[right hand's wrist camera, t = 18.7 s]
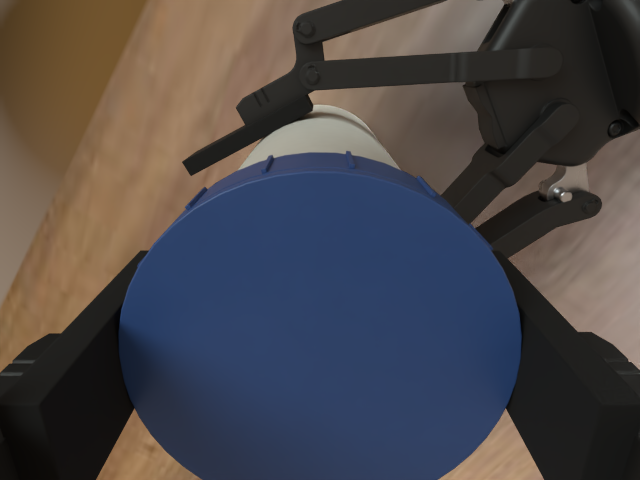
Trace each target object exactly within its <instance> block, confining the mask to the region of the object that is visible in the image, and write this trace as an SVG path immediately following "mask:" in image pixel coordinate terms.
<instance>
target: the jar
mask: <svg viewBox="0 0 640 480" xmlns="http://www.w3.org/2000/svg"><path fill="white" fill-rule="evenodd" d="M346 151H351V154H352V155H355V156H361V157H365V158H368V159H372V160H376V161H379V162H383V163H386V164H388V165H390V166H393V167H395V168H397V169H399V170H401V169H400V168H399V167H398V166H397V164H396V163H395V162H394V160H393V159H392V158H391V156H390V155H389V154H388V152H387V151H386V150H385V148H384V147H383V146H382V144H381V143H380V142H379V140H378V139H377V138H376V136H375V135H374V134H373V132H372V131H371V130H370V129H369V127H368V126H367V125H366V124H365V123H364V122H363V121H362V120H361V119H359V118H358V117H357V116H355V115H354V114H352V113H350V112H348V111H346V110H344V109H341V108H338V107H334V106H330V105H313V111H312V112H310V113H308V114H306V115H304V116H302V117H300V118H298V119H297V120H295V121H293V122H291V123H289V124H287V125H285V126H283V127H282V128H280V129H278V130H276V131H274V132H272V133H270V134H269V135H267V136H265V137H263V138H262V139H261V140H260V142H259V143H258V144H257V146H256V147H255V148H254V150H253V151H252V152H251V154H250V155H249V156H248V158H247V159H246V160H245V161H244V163H243V164H242V165H241V167H240V168H239V169H238V170H240V169H243V168H245V167H248V166H250V165H253V164H255V163H257V162H260V161H264V160H266V159H267V158H268V156H269V155H273V157H274V158H276V157H280V156H283V155H291V154H299V153H308V152H330V153H342V154H346Z"/></svg>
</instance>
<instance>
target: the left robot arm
mask: <svg viewBox="0 0 640 480" xmlns="http://www.w3.org/2000/svg"><path fill="white" fill-rule="evenodd" d="M444 1H447V0H342V1H339V2H336V3H333V4H330V5H327V6H324V7H321V8H318V9H315V10H312V11H309V12H307V13H304V14H301V15H300V16H298V17H297V18H296V20H295V21H294V24H293V34H294V41H295V48H296V64H295V66H294V68H293V69H292V70H291V71H290V72H289V73H288V74H286V75H284V76H282V77H281V78H279V79H277V80H275V81H273V82H272V83H270V84H268V85H266V86H264V87H263V88H261V89H259V90H257V91H255V92H254V93H252V94H250V95H248V96H246V97H245V98H243V99H242V100H241V101H240V103H239V104H238V105H237V107H236V109H237V111H238V113H239V114H240V116H241V118H242V120H243V121H244V123H245V125H244V126H243V127H241V128H239V129H237V130H235V131H233V132H232V133H230V134H228V135H226V136H224V137H222V138H221V139H219V140H217V141H215V142H213V143H211V144H209V145H208V146H206V147H204V148H202V149H200V150H198V151H197V152H195V153H194V154H192V155H191V156H190V157H188V158H187V159H186V160H184V161H183V162H182V163H183V164H184V166H185V167H186V169H187V171H188V172H189V174H190V175H191V176H192V175H194V174H196V173H197V172H199V171H201V170H203V169H205V168H207V167H209V166H211V165H212V164H214V163H216V162H218V161H220V160H222V159H224V158H226V157H227V156H229V155H231V154H233V153H235V152H237V151H239V150H240V149H242V148H244V147H246V146H248V145H250V144H252V143H254V142H255V141H257V140H259V139H261V138H263V137H265V136H267V135H269V134H270V133H272V132H274V131H276V130H278V129H280V128H282V127H283V126H285V125H287V124H289V123H291V122H293V121H295V120H297V119H298V118H300V117H302V116H304V115H306V114H308V113H310V112H312V111H313V104H312V102H311V100H310V98H309V96H308V94H309V93H311V92H313V91H315V90H330V89H346V88H363V87H380V86H397V85H414V84H430V83H447V82H466V84H465V85H463V88H464V91H465V93H466V96H467V99H468V101H469V102H470V103H471V105H472V106H473V107H474V109H475V110H476V111H477V113H478V122H479V130H480V133H481V135H482V138H483V140H484V142H485V143H484V144H483V145H482V147H481V148H480V149H479V150H478V151H477V152H476V153H475V154H474V156H473V158H472V162H471V163H470V165H469V166H468V167H467V168H466V169H465V170H464V171H463V172H462V173H461V174H460V175H459V176H458V178H457V179H456V180H455V181H454V182H453V183H452V184H451V185H450V186H449V187H448V188H447V189H446V191H445V192H444V193H443V194H442V195H441V197H442V198H444V199H445V200H446V201H447V202H448V203H449V204H450V205H451V206H452V207H453V209H454V210H455V211H456V212H457V213H458V214H459V215H460V216H461V217H462V218H463V219H464V221H465V222H466V223H467V224H470V223H471V222H472V221H473V220H474V219H475V218H476V217H477V216H478V215H479V214H480V213H481V212H482V211H483V210H484V209H485V208H486V207H487V206H488V205H489V204H490V202H491V201H492V200H493V199H494V198H495V197H496V196H497V195H498V194H499V193H500V192H501V191H502V190H503V189H505V188H507V187H510V186H512V185H514V184H515V183H516V182H518V181H519V180H520V179H521V178H522V176H523V175H524V174H525V173H526V172H527V171H528V170H529V169H530V168H531V167H532V166H533V165H534V164H535V163H536V162H541V163H548V164H554V165H557V169H556V171H555V173H554V174H553V175H552V176H551V177H549V178H548V179H546V180H543V181H541V182H540V184H539V191H536V192H533V193H531V194H529V195H526V196H524V197H523V198H521V199H519V200H518V201H516V202H514V203H513V204H511V205H510V206H508V207H507V208H505V209H504V210H502V211H501V212H499V213H498V214H496V215H495V216H493V217H492V218H490V219H489V220H487V221H486V222H484V223H483V224H481V225H480V226H478V227H477V228H475V229H476V230H477V231H478V232H479V233H480V234H481V236H482V237H483V238H484V239H485V240H486V241H487V242H488V243H489V244H490V245H491V246H492V248H493V250H491V251H500V252H501V253H502V254H503V255H504V256H505V257H506V258H509V257H510V256H512V255H514V254H515V253H517V252H518V251H520V250H521V249H523V248H525V247H526V246H528V245H529V244H531V243H533V242H534V241H536V240H537V239H539V238H540V237H542V236H544V235H545V234H547V233H548V232H550V231H551V230H553V229H555V228H556V227H559V226H563V225H566V224H570V223H574V222H577V221H581V220H584V219H588V218H591V217H593V216H595V215H596V214H597V213H598V212H599V211H600V209H601V206H602V202H601V199H600V198H599V197H598V196H596V195H594V194H592V193H590V191H589V183H588V174H587V165H586V162H588V161H589V160H590V159H592V158H593V157H594V155H595V154H596V153H597V152H598V151H599V150H600V149H601V148H602V147H603V146H604V145H605V144H606V143H608V142H609V141H611V140H613V139H615V138H617V137H620V136H623V135H625V134H628V133H631V132H633V131H636V130H638V129H640V0H502V1H503V2H504V3H505V4H504V6H503V8H502V9H501V11H500V13H499V15H498V16H497V18H496V20H495V21H494V23H493V25H492V27H491V28H490V30H489V32H488V33H487V35H486V37H485V39H484V40H483V42H482V44H481V45H480V47H479V49H478V51H477V52H461V53H445V54H429V55H412V56H396V57H379V58H363V59H346V60H330V61H324V53H323V45H322V42H324V41H327V40H330V39H333V38H336V37H339V36H342V35H345V34H348V33H351V32H354V31H357V30H360V29H363V28H366V27H369V26H372V25H375V24H378V23H381V22H384V21H387V20H390V19H393V18H396V17H399V16H402V15H405V14H408V13H411V12H414V11H417V10H420V9H423V8H426V7H429V6H432V5H435V4H438V3H441V2H444ZM478 1H481V0H478Z"/></svg>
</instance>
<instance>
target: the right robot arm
mask: <svg viewBox="0 0 640 480" xmlns="http://www.w3.org/2000/svg"><path fill="white" fill-rule="evenodd" d="M148 252H149V251H140V252H139V253H138V254H137V255H136V256H135V257H134V258H133V259H132V260H131V261H130V262H129V263H128V264H127V265H126V266H125V268H124V269H123V270H122V271H121V272H120V273H119V274H118V275H117V276H116V277H115V278H114V279H113V280H112V281H111V282H110V283H109V284H108V285H107V286H106V287H105V288H104V289H103V290H102V292H101V293H100V294H99V295H98V296H97V297H96V298H95V299H94V300H93V301H92V302H91V303H90V304H89V305H88V306H87V307H86V308H85V309H84V310H83V311H82V312H81V313H80V314H79V315H78V317H77V318H76V319H75V320H74V321H73V322H72V323H71V324H70V325H69V326H68V327H67V328H66V329H65V330H64V331H63V332H62V333H61V334H48V335H46V336H44V337H43V338H41V339H39V340H38V341H36V342H34V343H32V344H31V345H29V346H27V347H26V348H25V349H24V350H23V351H22V352H21V353H20V354H19V355H18V356H17V357H16V358H15V359H14V360H13V363H12V364H9V365H8V366H7V367H6V368H5V369H4V370H3V371H2V372H1V373H0V480H96V479H97V477H98V475H99V473H100V471H101V469H102V467H103V466H104V464H105V462H106V460H107V458H108V456H109V454H110V453H111V451H112V449H113V447H114V445H115V443H116V441H117V440H118V438H119V436H120V434H121V432H122V430H123V428H124V427H125V425H126V423H127V421H128V419H129V417H130V415H131V414H132V412H133V410H134V406H133V404H132V402H131V400H130V398H129V395H128V392H127V389H126V386H125V383H124V378H123V373H122V368H121V363H120V357H119V341H118V331H119V324H120V317H121V310H122V306H123V303H124V300H125V296H126V293H127V290H128V287H129V285H130V283H131V280H132V278H133V276H134V274H135V272H136V270H137V268H138V267H137V266H138V264H139V262H140V261H141V260H142V259H143V258H144V257H145V256H146V254H147V253H148ZM492 253H493V254H494V256H495V257H496V259H497V260H498V262H499V263H500V265H501V266H502V268H503V270H504V272H505V274H506V276H507V278H508V281H509V283H510V285H511V287H512V289H513V292H514V296H515V299H516V303H517V307H518V310H519V314H520V323H521V332H522V346H521V359H520V364H519V370H518V375H517V380H516V384H515V386H514V389H513V392H512V395H511V397H510V400H509V402H508V404H507V406H506V409H507V411H508V413H509V415H510V417H511V419H512V420H513V422H514V424H515V426H516V428H517V430H518V432H519V433H520V435H521V437H522V439H523V441H524V443H525V445H526V446H527V448H528V450H529V452H530V454H531V456H532V458H533V459H534V461H535V463H536V465H537V467H538V469H539V471H540V472H541V474H542V476H543V478H544V480H640V370H639V369H638V368H637V367H636V366H635V365H634V364H633V363H632V362H628V359H627V358H626V357H625V356H624V355H623V354H622V353H621V352H620V351H619V350H618V349H617V348H616V347H615V346H614V345H613V344H611V343H609V342H608V341H606V340H604V339H602V338H601V337H599V336H597V335H595V334H594V333H592V332H577V331H576V330H575V329H574V328H573V327H572V326H571V325H570V323H569V322H568V321H567V320H566V319H565V318H564V317H563V316H562V315H561V314H560V313H559V312H558V311H557V310H556V309H555V308H554V307H553V306H552V305H551V304H550V303H549V302H548V301H547V300H546V298H545V297H544V296H543V295H542V294H541V293H540V292H539V291H538V290H537V289H536V288H535V287H534V286H533V285H532V284H531V283H530V282H529V281H528V280H527V279H526V278H525V277H524V276H523V275H522V273H521V272H520V271H519V270H518V269H517V268H516V267H515V266H514V265H513V264H512V263H511V262H510V261H509V260H508V259H507V258H506V257H505V256H504V255H503V254H502V253H501V252H500V251H492Z"/></svg>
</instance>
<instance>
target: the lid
mask: <svg viewBox="0 0 640 480" xmlns="http://www.w3.org/2000/svg"><path fill="white" fill-rule="evenodd" d="M185 208H186V210H185V211H184V212H183V213H182V214H181V215H180V216H179V217H178V218H177V219H176V220H175V221H174V223H173V224H172V225H171V226H170V227H169V228H168V229H167V230H166V231H165V232H164V233H163V234H162V236H161V237H160V238H159V239H158V240H157V241H156V242H155V243H154V244H153V246H152V247H151V249H150V250H149V252H148V253H147V254H146V256H145V257H144V258H143V259H142V260H141V261H140V262H139V264H138V266H137V267H138V268H137V270H136V272H135V274H134V276H133V278H132V280H131V283H130V285H129V287H128V290H127V293H126V296H125V300H124V303H123V306H122V310H121V317H120V324H119V331H118V341H119V357H120V363H121V368H122V373H123V378H124V383H125V386H126V389H127V392H128V395H129V398H130V400H131V402H132V404H133V406H134V408H135V410H136V412H137V414H138V416H139V418H140V419H141V421H142V422H143V423H144V425H145V426H146V428H147V429H148V431H149V432H150V434H151V435H152V436H153V437H154V439H155V440H156V441H157V442H158V443H159V444H160V445H161V446H162V447H163V449H164V450H165V451H166V452H167V453H168V454H169V455H171V456H172V457H173V458H174V459H175V460H176V461H177V462H179V463H180V464H181V465H182V466H183V467H185V468H186V469H188V470H189V471H190V472H192V473H193V474H195V475H196V476H198V477H199V478H200V479H202V480H438V479H439V478H441V477H442V476H444V475H445V474H447V473H448V472H450V471H451V470H453V469H454V468H456V467H457V466H458V465H459V464H460V463H461V462H463V461H464V460H465V459H466V458H467V457H469V456H470V455H471V454H472V453H473V452H474V451H475V450H476V449H477V448H478V446H479V445H480V444H481V443H482V442H483V441H484V440H485V439H486V438H487V436H488V435H489V434H490V432H491V431H492V429H493V428H494V427H495V425H496V424H497V422H498V421H499V419H500V417H501V416H502V414H503V412H504V410H505V408H506V406H507V404H508V402H509V400H510V397H511V395H512V392H513V389H514V386H515V384H516V380H517V375H518V370H519V364H520V359H521V346H522V332H521V323H520V314H519V310H518V307H517V303H516V299H515V296H514V292H513V289H512V287H511V285H510V283H509V281H508V278H507V276H506V274H505V272H504V270H503V268H502V266H501V265H500V263H499V262H498V260H497V259H496V257H495V256H494V254H493V253H492V251H491V250H493V248H492V246H491V245H490V244H489V243H488V242H487V241H486V240H485V239H484V238H483V237H482V236H481V234H480V233H479V232H478V231H477V230H476V229H475V228H474V227H473V226H472V225H471V224H467V223H466V222H465V221H464V219H463V218H462V217H461V216H460V215H459V214H458V213H457V212H456V211H455V210H454V209H453V207H452V206H451V205H450V204H449V203H448V202H447V201H446V200H445V199H444V198H442V197H441V196H440V195H439V194H438V193H436V192H435V191H434V190H433V189H432V188H431V187H430V186H429V185H428V184H427V183H426V182H425V181H424V179H423V178H422V177H420V176H418V177H417V178H415V177H413V176H411V175H410V174H408V173H406V172H404V171H402V170H399V169H397V168H395V167H393V166H390V165H388V164H386V163H383V162H379V161H376V160H372V159H368V158H365V157H361V156H355V155H352V154H351V151H346V154H342V153H330V152H308V153H299V154H291V155H283V156H280V157H276V158H274V157H273V155H269V156H268V158H267V159H266V160H264V161H260V162H257V163H255V164H253V165H250V166H248V167H245V168H243V169H240V170H238V171H236V172H234V173H232V174H231V175H229V176H227V177H225V178H224V179H222V180H220V181H218V182H217V183H215V184H214V185H213V186H211V187H210V188H209V189H207V188H206V187H204V188H203V189H202V190H201V191H200V192H199V193H198V194H197V195H196V196H195V197H194V198H193V199H192V200H191V201H190V202H189V203H188V204H187V205H186V206H185Z"/></svg>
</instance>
